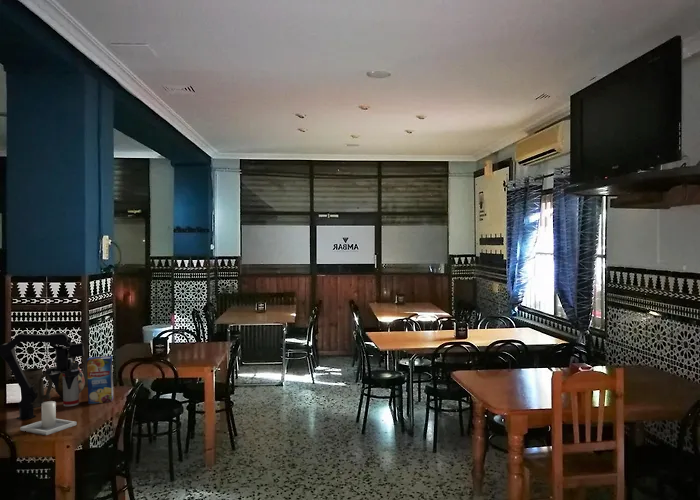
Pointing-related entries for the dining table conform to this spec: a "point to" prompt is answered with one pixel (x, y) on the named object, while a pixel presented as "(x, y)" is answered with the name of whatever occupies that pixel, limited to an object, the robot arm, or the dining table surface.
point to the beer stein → (38, 384)
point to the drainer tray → (46, 431)
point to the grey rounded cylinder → (48, 414)
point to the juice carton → (100, 379)
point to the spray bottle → (70, 392)
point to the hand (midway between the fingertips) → (63, 388)
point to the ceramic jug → (80, 380)
